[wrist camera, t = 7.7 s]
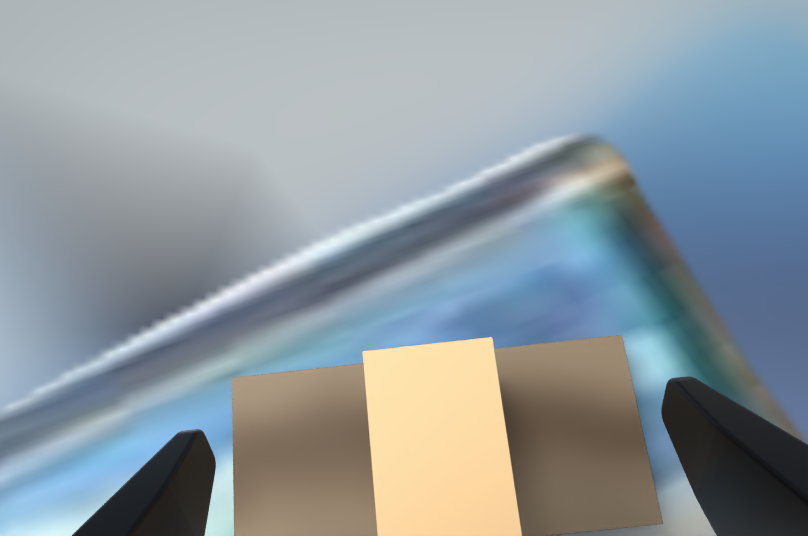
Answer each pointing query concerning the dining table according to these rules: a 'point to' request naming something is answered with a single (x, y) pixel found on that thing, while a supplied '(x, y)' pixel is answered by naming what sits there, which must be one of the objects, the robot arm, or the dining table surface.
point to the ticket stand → (526, 433)
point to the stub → (439, 441)
